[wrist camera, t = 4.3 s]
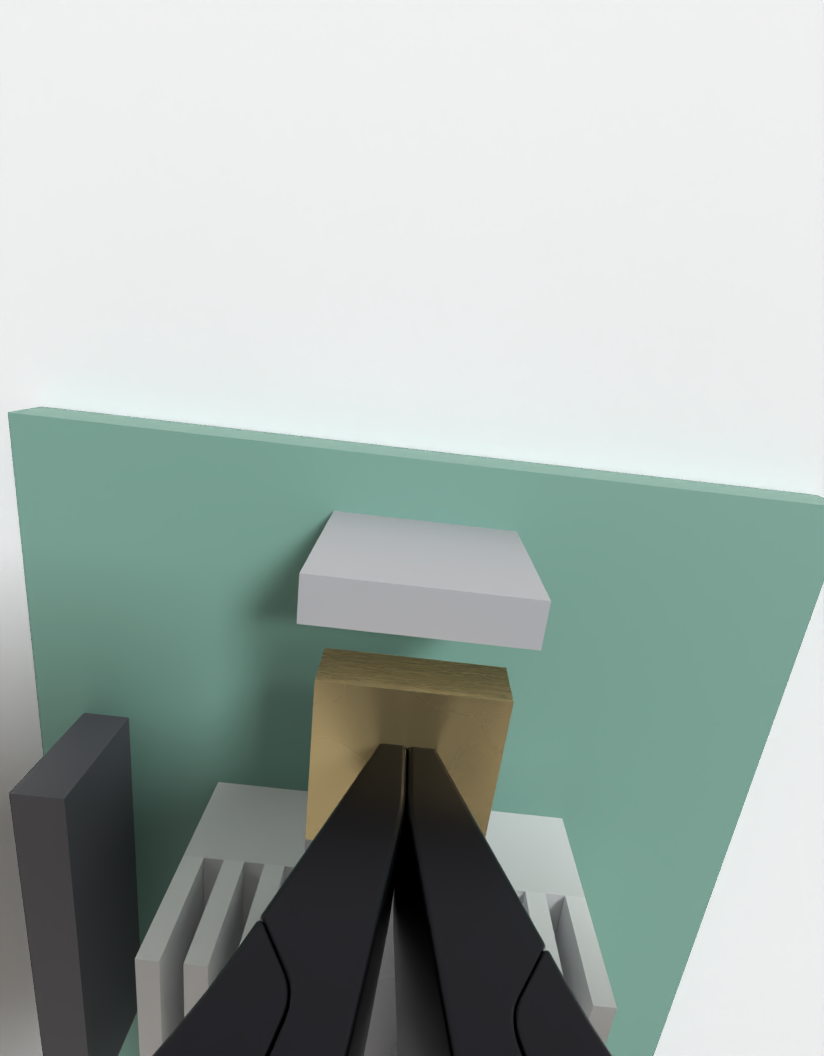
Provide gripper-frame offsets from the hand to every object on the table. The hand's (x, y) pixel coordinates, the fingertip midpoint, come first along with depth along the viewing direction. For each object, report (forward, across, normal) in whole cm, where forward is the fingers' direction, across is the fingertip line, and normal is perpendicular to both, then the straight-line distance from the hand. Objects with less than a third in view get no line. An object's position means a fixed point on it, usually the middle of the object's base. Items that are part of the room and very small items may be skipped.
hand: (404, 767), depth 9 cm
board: (+4, 0, +7) cm, 8 cm away
